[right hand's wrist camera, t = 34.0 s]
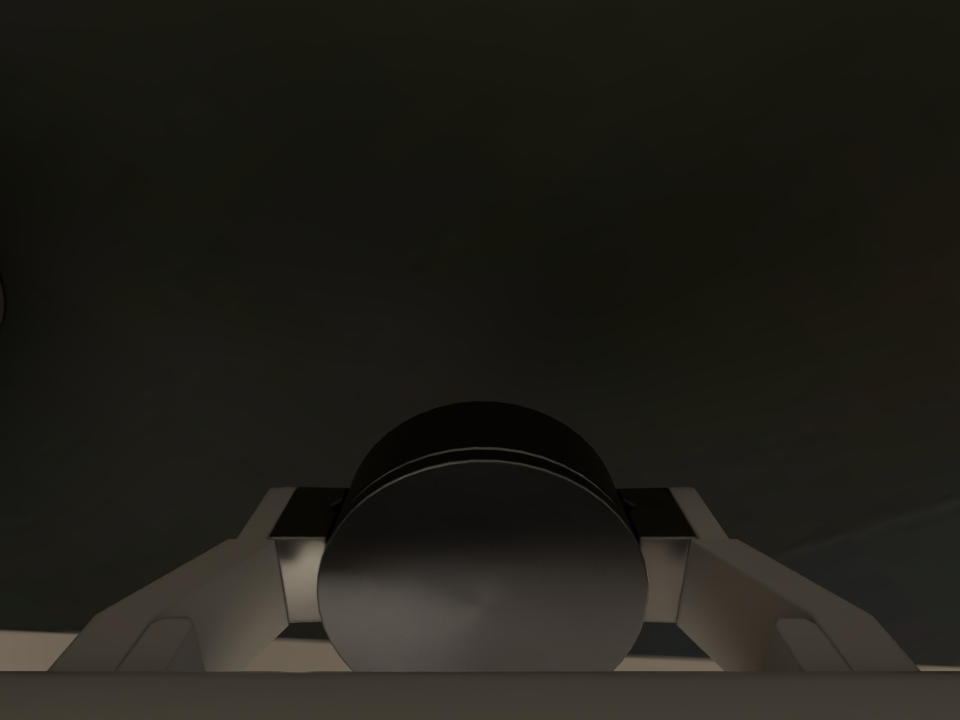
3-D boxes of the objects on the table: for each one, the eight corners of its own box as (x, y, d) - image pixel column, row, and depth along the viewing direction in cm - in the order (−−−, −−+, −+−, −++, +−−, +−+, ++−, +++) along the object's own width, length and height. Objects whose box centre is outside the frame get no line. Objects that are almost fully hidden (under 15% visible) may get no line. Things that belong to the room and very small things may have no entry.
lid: (654, 574, 11) (692, 664, 9) (424, 655, 12) (413, 755, 10) (555, 353, 9) (575, 404, 7) (295, 466, 10) (250, 539, 8)
